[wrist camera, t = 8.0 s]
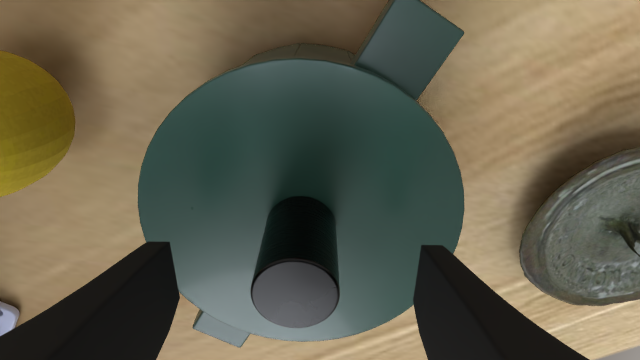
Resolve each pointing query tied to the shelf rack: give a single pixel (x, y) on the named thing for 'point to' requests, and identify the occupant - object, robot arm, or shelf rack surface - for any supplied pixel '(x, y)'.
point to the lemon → (31, 123)
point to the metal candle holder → (589, 235)
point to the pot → (384, 60)
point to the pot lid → (300, 197)
